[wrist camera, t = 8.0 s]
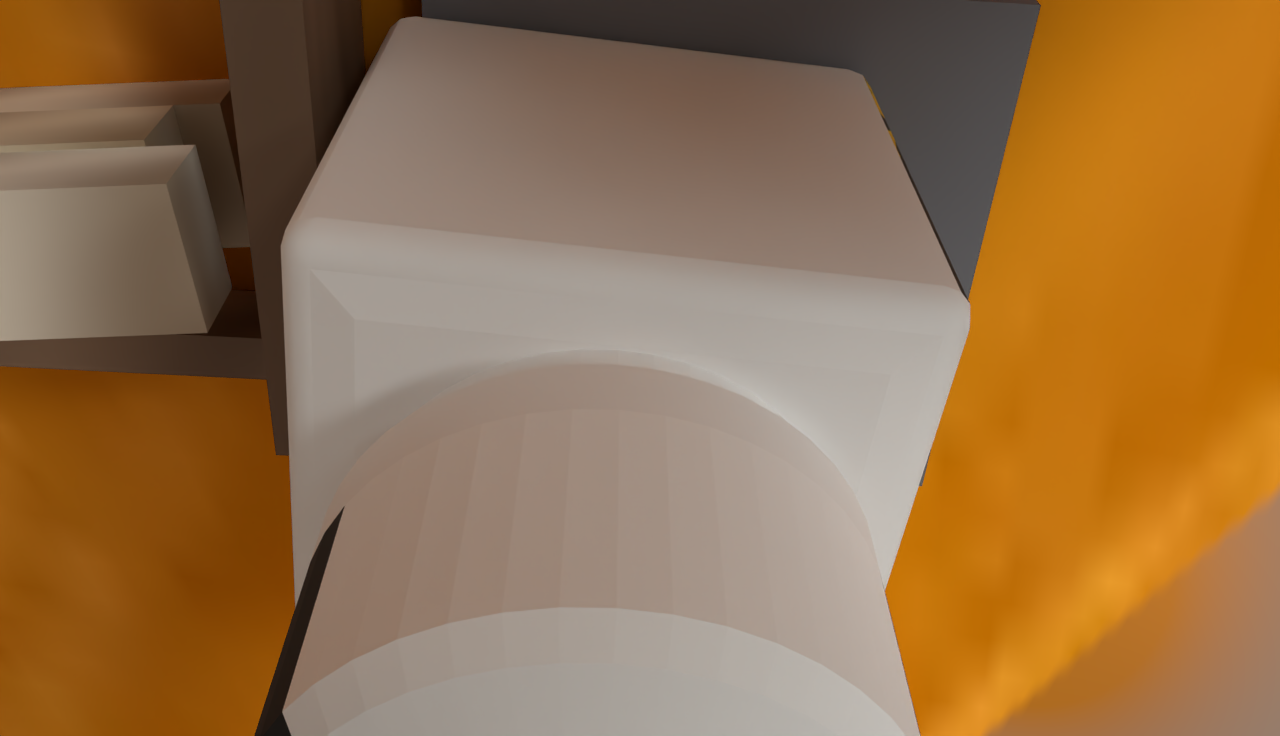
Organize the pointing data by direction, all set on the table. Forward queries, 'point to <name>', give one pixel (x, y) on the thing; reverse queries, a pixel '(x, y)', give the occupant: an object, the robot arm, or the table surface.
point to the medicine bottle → (605, 395)
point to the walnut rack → (250, 194)
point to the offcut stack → (117, 208)
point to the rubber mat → (859, 41)
